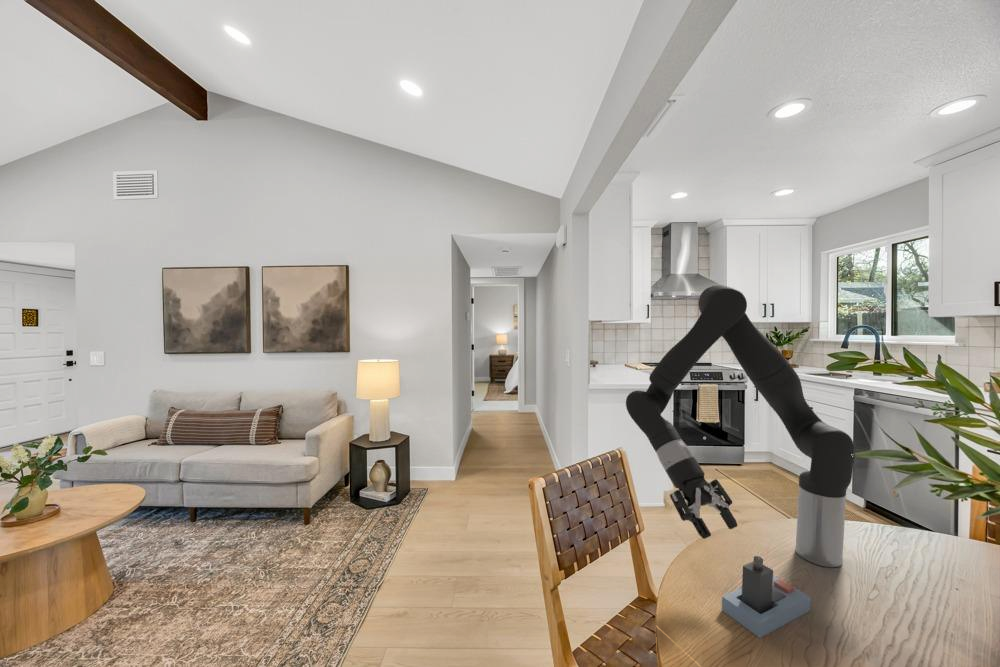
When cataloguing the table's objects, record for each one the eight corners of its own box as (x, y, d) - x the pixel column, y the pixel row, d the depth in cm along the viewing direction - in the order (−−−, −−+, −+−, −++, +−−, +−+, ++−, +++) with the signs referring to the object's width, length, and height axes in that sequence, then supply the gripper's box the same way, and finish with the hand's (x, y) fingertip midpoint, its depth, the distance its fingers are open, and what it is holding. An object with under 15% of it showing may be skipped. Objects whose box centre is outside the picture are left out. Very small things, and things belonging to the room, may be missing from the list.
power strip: (770, 586, 93) (771, 570, 93) (810, 610, 86) (810, 593, 86) (721, 610, 86) (722, 592, 86) (759, 638, 79) (760, 619, 79)
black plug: (753, 606, 87) (755, 551, 87) (771, 617, 84) (773, 560, 83) (741, 612, 86) (743, 556, 85) (758, 624, 83) (760, 566, 82)
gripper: (666, 461, 95) (709, 535, 86) (709, 451, 101) (754, 518, 92) (648, 475, 100) (687, 546, 91) (690, 464, 106) (731, 530, 97)
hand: (721, 532), depth 91 cm, fingers open, 8 cm apart
